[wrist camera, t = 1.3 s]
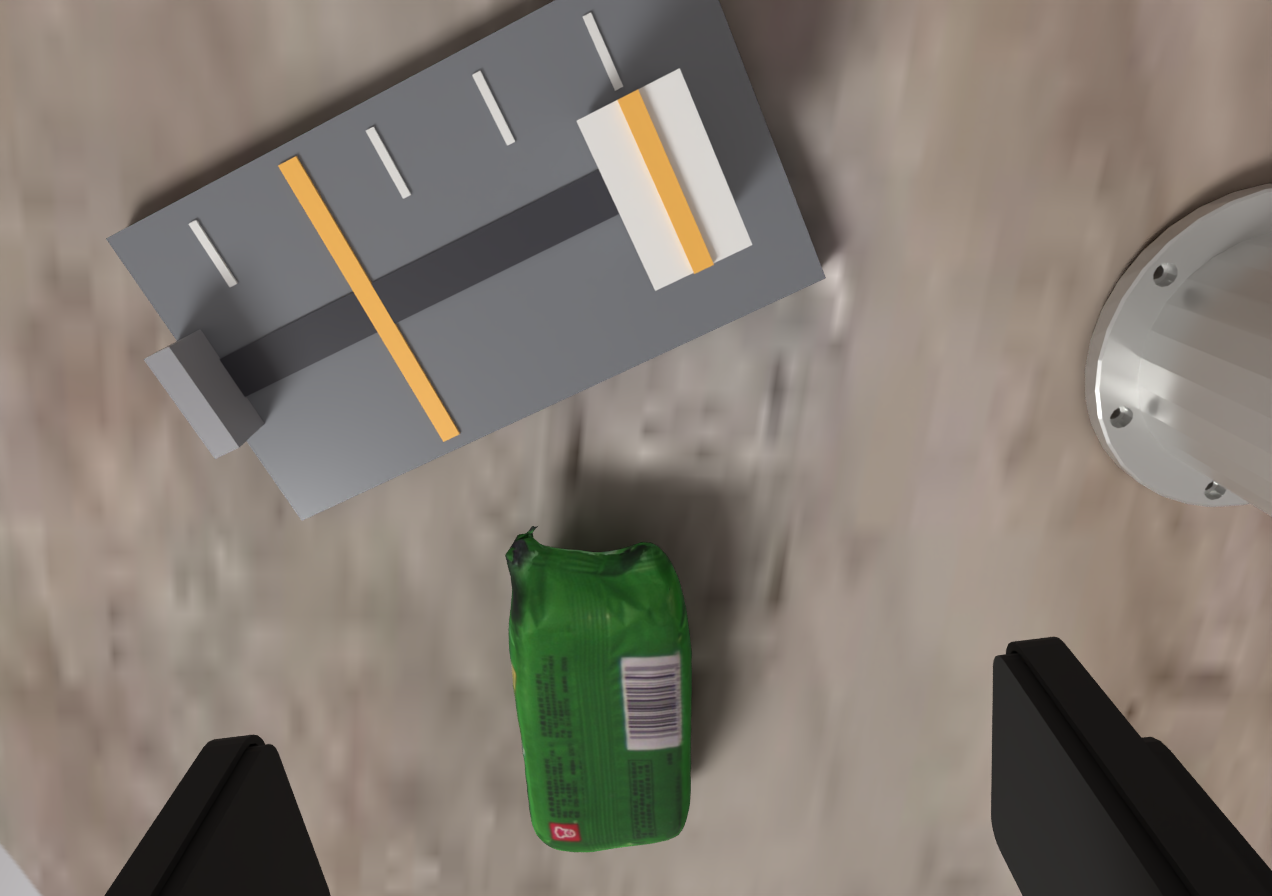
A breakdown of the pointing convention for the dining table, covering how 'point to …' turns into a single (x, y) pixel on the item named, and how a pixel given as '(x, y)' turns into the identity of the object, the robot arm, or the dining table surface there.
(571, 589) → the snack package
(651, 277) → the fader tab
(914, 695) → the dining table surface
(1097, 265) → the dining table surface
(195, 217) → the console
